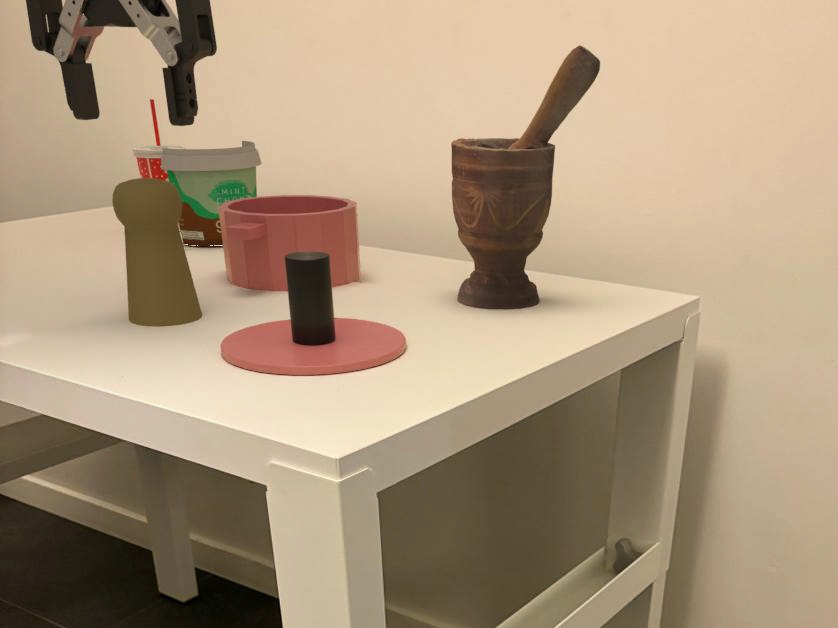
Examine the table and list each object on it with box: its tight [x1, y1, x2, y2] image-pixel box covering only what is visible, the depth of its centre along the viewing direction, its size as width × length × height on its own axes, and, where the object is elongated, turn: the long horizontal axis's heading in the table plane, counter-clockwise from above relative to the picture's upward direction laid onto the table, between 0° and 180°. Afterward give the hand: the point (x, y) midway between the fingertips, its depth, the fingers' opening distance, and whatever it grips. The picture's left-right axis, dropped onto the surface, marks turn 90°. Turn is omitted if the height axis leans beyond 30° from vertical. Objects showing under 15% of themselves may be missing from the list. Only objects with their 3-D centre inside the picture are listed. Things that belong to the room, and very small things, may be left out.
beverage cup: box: [132, 98, 187, 230], centre depth 117 cm, size 6×6×14 cm
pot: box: [218, 194, 361, 292], centre depth 94 cm, size 13×18×7 cm
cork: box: [111, 177, 203, 328], centre depth 79 cm, size 6×6×11 cm
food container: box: [161, 140, 263, 246], centre depth 111 cm, size 12×6×10 cm, turn 143°
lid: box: [220, 251, 407, 376], centre depth 72 cm, size 14×14×7 cm
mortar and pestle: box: [451, 44, 601, 311], centre depth 83 cm, size 12×9×20 cm
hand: (134, 122), depth 74 cm, fingers open, 8 cm apart
